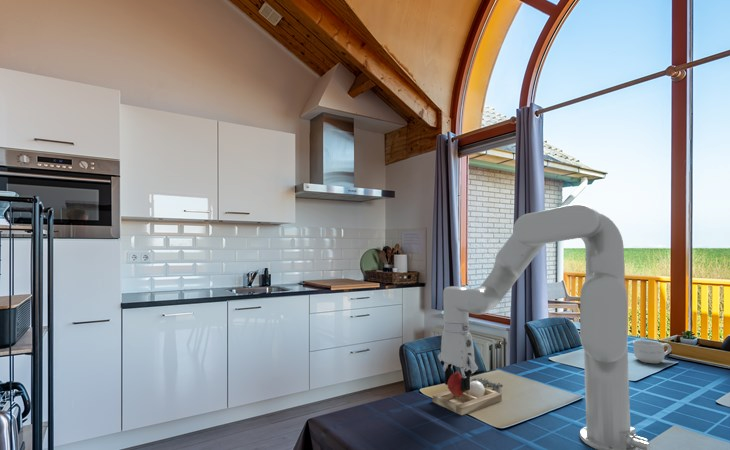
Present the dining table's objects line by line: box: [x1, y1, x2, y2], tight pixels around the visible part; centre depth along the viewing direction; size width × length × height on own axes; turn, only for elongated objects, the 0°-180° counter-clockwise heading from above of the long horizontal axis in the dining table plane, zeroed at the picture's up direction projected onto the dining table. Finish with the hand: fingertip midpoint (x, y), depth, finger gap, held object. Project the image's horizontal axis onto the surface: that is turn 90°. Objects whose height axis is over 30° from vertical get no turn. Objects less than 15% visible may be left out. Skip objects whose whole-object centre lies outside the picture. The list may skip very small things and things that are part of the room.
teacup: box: [632, 340, 672, 364], centre depth 165 cm, size 14×11×8 cm
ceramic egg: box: [468, 381, 485, 398], centre depth 125 cm, size 5×5×5 cm
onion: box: [446, 370, 465, 397], centre depth 121 cm, size 6×6×8 cm
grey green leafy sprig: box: [470, 377, 504, 394], centre depth 134 cm, size 11×8×4 cm
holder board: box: [432, 387, 503, 416], centre depth 123 cm, size 12×18×3 cm, turn 124°
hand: (457, 386), depth 121 cm, fingers closed on onion, 5 cm apart
